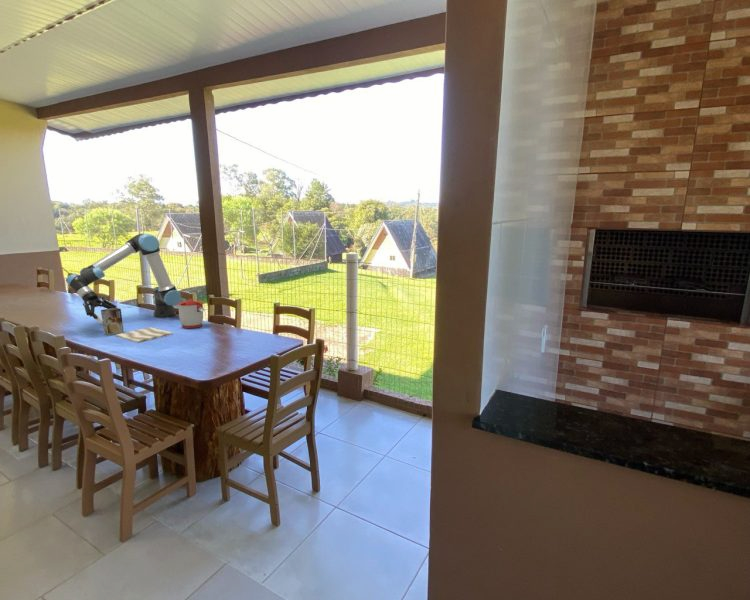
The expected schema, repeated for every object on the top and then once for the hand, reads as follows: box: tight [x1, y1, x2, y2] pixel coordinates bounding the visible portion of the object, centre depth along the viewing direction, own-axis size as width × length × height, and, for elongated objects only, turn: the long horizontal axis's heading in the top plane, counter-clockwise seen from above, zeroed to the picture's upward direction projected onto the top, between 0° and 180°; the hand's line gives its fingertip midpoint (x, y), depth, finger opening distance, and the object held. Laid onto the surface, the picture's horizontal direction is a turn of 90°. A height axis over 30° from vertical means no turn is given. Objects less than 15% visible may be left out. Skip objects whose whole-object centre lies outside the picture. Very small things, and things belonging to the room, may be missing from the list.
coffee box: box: [100, 307, 125, 336], centre depth 240 cm, size 9×6×16 cm
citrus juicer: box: [177, 298, 205, 329], centre depth 260 cm, size 16×17×20 cm
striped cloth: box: [115, 327, 174, 343], centre depth 239 cm, size 22×24×1 cm
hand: (110, 319), depth 239 cm, fingers open, 13 cm apart
